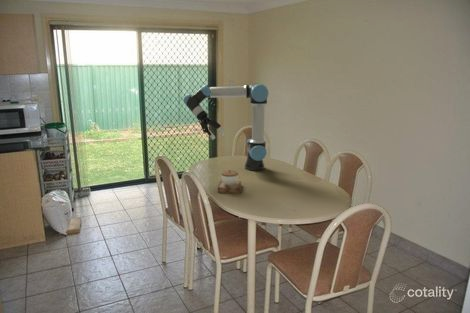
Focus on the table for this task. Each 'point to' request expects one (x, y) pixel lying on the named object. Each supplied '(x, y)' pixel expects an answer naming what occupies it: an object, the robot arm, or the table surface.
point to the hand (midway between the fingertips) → (219, 137)
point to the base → (229, 187)
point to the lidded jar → (229, 177)
